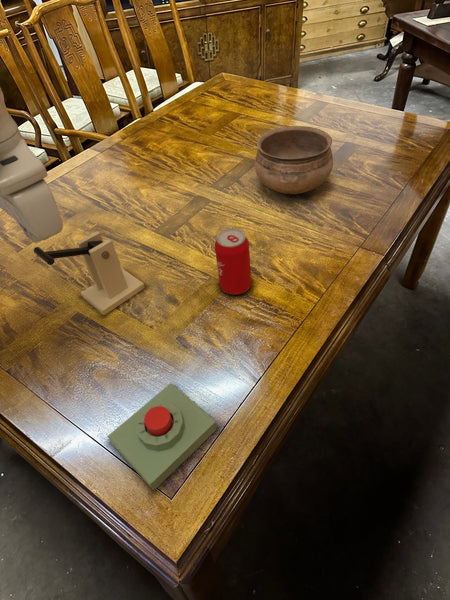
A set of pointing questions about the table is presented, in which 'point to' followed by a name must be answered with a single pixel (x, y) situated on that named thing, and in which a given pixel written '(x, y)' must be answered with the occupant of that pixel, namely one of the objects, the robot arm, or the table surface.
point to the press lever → (65, 252)
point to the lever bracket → (107, 276)
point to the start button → (158, 420)
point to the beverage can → (233, 261)
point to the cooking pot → (294, 159)
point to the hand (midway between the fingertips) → (35, 238)
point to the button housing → (163, 436)
